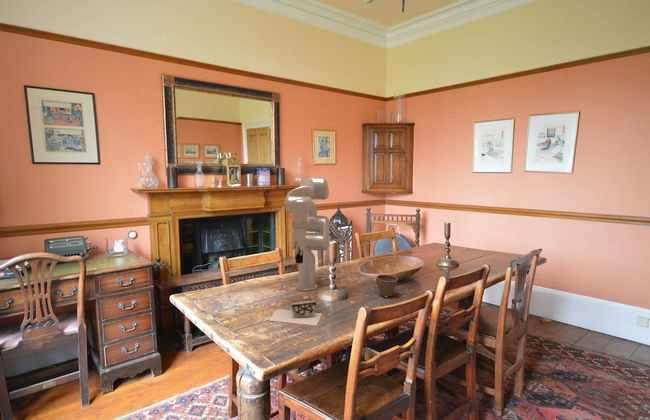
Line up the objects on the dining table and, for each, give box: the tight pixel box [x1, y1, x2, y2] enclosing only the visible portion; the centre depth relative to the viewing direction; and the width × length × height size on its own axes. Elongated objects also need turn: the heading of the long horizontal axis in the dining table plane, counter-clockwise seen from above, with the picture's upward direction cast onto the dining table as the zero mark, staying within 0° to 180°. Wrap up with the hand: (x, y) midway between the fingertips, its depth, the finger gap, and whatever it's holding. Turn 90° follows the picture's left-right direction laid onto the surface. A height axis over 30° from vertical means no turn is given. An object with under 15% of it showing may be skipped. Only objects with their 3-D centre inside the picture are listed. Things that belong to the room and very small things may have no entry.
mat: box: [268, 308, 323, 327], centre depth 165 cm, size 13×22×1 cm, turn 79°
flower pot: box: [375, 274, 399, 297], centre depth 196 cm, size 12×11×10 cm
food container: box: [290, 298, 318, 317], centre depth 169 cm, size 12×6×10 cm
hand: (299, 262), depth 172 cm, fingers closed
